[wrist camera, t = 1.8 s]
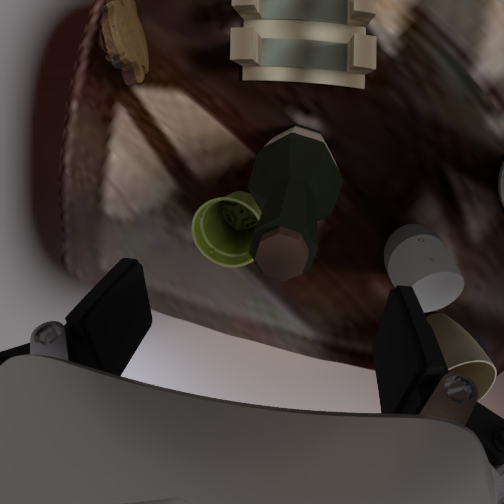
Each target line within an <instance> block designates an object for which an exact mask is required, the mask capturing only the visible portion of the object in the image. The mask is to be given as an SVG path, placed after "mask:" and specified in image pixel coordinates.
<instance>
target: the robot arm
mask: <svg viewBox="0 0 504 504" xmlns="http://www.w3.org/2000/svg"><path fill="white" fill-rule="evenodd" d="M498 192H499V198H500V201H501V204H502V206H503V208H504V161H503V163H502V166H501V169H500V173H499V179H498ZM65 319H66V322H67V323H66V324H65V325H63V324H62V323H60V322H57V321H50V322H46V323H43V324H41V325H40V326H38V327H37V328H36V329H35V330H34V331H33V333H32V334H31V339H30V343H28V344H24V345H21V346H18V347H15V348H12V349H8V350H6V351H2V352H0V504H504V419H503V418H501V417H500V416H498V415H497V414H495V413H494V412H492V411H490V410H489V409H487V408H486V407H485V406H483V405H481V404H480V403H478V402H477V397H478V390H477V387H476V385H475V383H474V382H473V381H472V379H470V378H469V377H468V376H466V375H464V374H462V373H457V372H452V373H449V370H448V368H447V365H446V362H445V359H444V357H443V354H442V351H441V349H440V346H439V344H438V341H437V339H436V336H435V334H434V331H433V329H432V327H431V325H430V323H428V321H427V319H426V317H425V314H424V312H423V310H422V307H421V305H420V303H419V301H418V298H417V296H416V294H415V292H414V290H413V288H412V287H411V286H401V285H397V286H396V287H395V289H391V290H390V293H389V296H388V300H387V303H386V306H385V310H384V313H383V316H382V319H381V322H380V325H379V328H378V331H377V334H376V337H375V340H374V343H373V348H372V353H373V359H374V365H375V371H376V376H377V384H378V390H379V397H380V405H381V413H346V412H326V411H311V410H299V409H287V408H278V407H270V406H262V405H254V404H247V403H241V402H234V401H228V400H222V399H216V398H211V397H205V396H200V395H195V394H190V393H185V392H181V391H176V390H172V389H167V388H163V387H159V386H155V385H151V384H147V383H143V382H139V381H135V380H132V379H128V378H125V377H121V374H122V372H123V371H124V369H125V368H126V366H127V364H128V363H129V361H130V359H131V358H132V356H133V354H134V353H135V351H136V349H137V348H138V346H139V344H140V343H141V341H142V339H143V338H144V336H145V335H146V333H147V331H148V330H149V328H150V327H151V324H152V314H151V309H150V304H149V299H148V294H147V289H146V284H145V278H144V272H143V267H142V264H140V263H139V262H138V260H137V259H130V258H123V259H121V260H120V261H119V262H118V263H117V264H116V265H115V266H114V267H113V268H112V269H111V270H110V271H109V272H108V273H107V274H106V275H105V276H104V277H103V278H102V279H101V280H100V281H99V282H98V283H97V284H96V285H95V287H94V288H93V289H92V290H91V291H90V292H89V293H88V294H87V295H86V296H85V297H84V298H83V299H82V300H81V302H79V304H78V305H77V306H76V307H75V308H74V309H73V310H72V311H71V312H70V313H69V314H68V315H67V316H66V318H65Z"/></svg>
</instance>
